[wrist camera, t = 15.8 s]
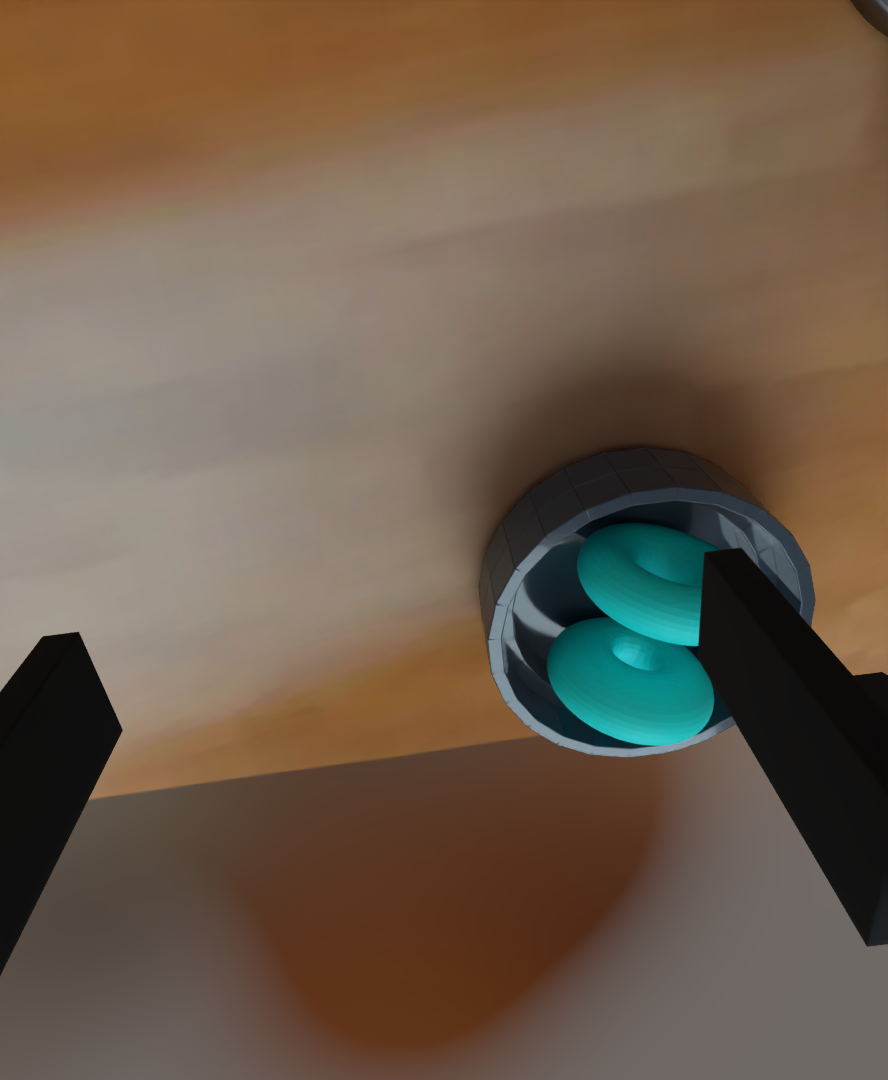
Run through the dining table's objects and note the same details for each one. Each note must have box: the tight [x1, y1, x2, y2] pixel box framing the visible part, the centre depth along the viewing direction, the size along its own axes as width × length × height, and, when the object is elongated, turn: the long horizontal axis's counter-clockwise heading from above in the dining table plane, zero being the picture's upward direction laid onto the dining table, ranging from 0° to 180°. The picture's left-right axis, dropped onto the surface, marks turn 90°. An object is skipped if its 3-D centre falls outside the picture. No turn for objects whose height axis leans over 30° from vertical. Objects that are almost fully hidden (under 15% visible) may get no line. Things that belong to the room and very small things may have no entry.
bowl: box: [479, 448, 815, 757], centre depth 43 cm, size 19×19×6 cm
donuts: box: [547, 523, 721, 746], centre depth 41 cm, size 10×10×10 cm
